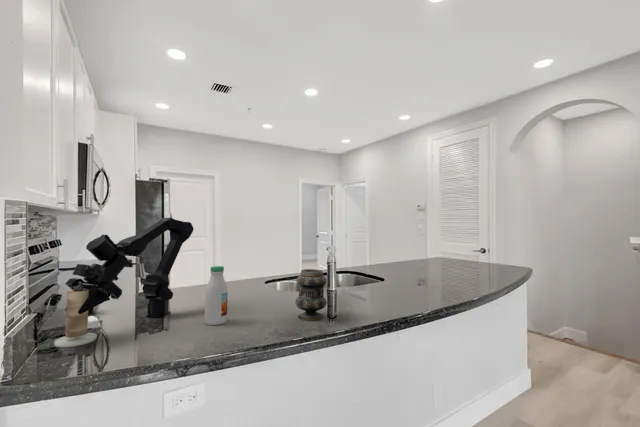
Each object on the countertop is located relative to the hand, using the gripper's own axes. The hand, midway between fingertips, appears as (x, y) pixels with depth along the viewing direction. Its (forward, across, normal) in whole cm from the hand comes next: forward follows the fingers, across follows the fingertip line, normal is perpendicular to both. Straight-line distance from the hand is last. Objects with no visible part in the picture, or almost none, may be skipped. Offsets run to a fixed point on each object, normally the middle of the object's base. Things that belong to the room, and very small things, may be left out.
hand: (72, 312), depth 93 cm
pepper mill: (+4, 0, +6) cm, 7 cm away
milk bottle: (-16, +26, +29) cm, 42 cm away
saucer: (+5, 0, +7) cm, 9 cm away
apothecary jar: (-29, +56, +43) cm, 76 cm away
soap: (-2, -12, +15) cm, 19 cm away
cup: (-9, -27, +21) cm, 36 cm away
